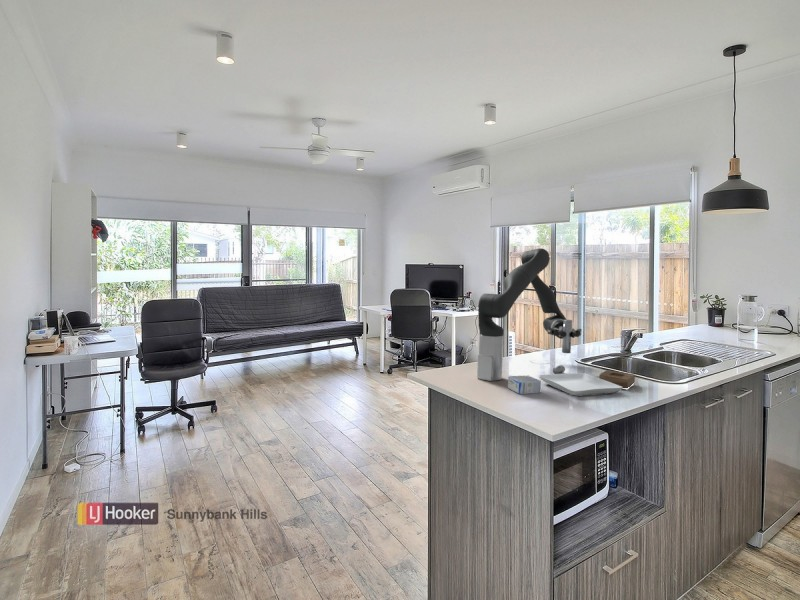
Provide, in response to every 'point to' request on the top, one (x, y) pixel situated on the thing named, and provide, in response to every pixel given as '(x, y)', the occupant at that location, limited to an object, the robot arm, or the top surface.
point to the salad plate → (580, 384)
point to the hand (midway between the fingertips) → (568, 334)
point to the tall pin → (567, 336)
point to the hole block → (618, 378)
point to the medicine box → (524, 384)
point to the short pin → (558, 369)
